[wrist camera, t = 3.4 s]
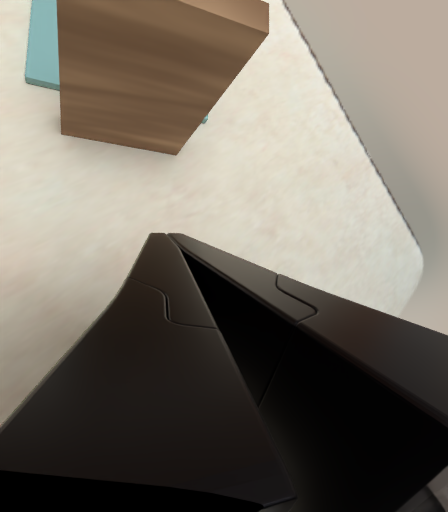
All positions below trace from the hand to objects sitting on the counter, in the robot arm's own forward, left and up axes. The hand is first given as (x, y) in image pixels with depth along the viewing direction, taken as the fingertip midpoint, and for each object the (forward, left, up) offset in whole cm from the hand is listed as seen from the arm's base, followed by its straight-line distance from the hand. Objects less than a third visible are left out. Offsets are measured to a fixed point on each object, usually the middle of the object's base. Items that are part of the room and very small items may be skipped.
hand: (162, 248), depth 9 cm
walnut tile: (+8, -4, -13) cm, 16 cm away
